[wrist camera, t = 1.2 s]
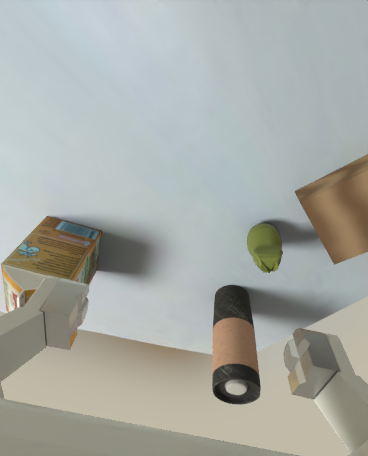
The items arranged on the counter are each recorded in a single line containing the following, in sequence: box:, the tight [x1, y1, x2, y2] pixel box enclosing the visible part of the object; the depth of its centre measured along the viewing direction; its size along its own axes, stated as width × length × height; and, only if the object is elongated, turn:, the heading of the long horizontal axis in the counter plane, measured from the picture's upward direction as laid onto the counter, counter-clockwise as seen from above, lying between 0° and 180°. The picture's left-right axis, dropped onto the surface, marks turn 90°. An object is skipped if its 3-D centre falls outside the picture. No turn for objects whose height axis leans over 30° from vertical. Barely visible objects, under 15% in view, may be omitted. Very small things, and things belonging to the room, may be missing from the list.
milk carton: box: [1, 216, 102, 312], centre depth 51 cm, size 11×11×19 cm
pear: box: [247, 223, 283, 273], centre depth 49 cm, size 6×5×10 cm
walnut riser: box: [295, 155, 368, 264], centre depth 46 cm, size 14×14×4 cm
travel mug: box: [213, 285, 260, 404], centre depth 54 cm, size 8×8×20 cm
